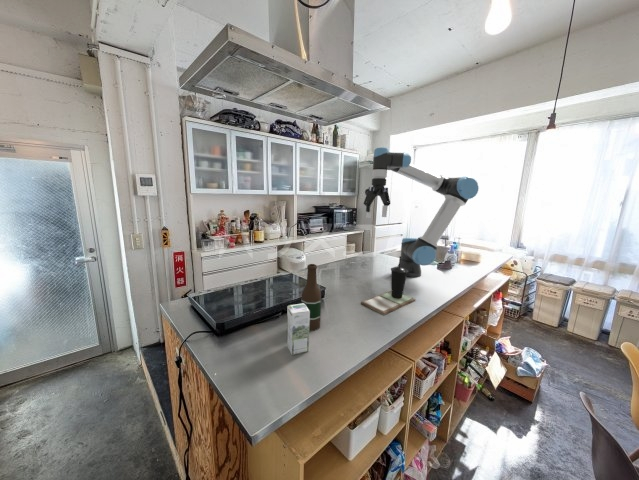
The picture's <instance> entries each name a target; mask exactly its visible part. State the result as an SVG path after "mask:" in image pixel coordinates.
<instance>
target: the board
mask: <svg viewBox="0 0 639 480" xmlns="http://www.w3.org/2000/svg"><path fill="white" fill-rule="evenodd" d="M413 302H416V298H414V297H412V296H410V295H407V294H404V293H403V294H402V298H400V299H397V298H393V297H392V290H389V291H387V292H384V293H381V294H379V295H376V296H373V297H370V298H367V299H365V300H363V301H361V302H360V304H361V305H362V306H364V307H366V308H369V309H371V310H373V311H375V312H376V313H379V314H381V315H384V316H385V315H387V314H390V313H392V312H394V311H396V310H398V309H401V308H403V307H405V306H408V305H409V304H412V303H413Z"/></svg>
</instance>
